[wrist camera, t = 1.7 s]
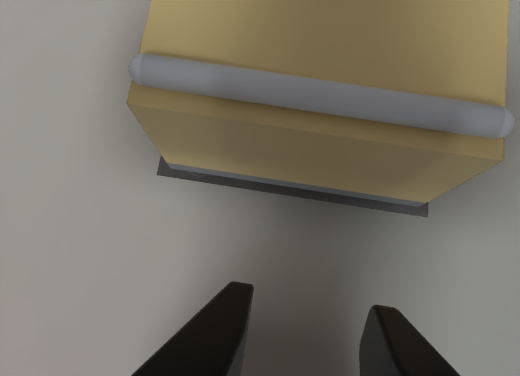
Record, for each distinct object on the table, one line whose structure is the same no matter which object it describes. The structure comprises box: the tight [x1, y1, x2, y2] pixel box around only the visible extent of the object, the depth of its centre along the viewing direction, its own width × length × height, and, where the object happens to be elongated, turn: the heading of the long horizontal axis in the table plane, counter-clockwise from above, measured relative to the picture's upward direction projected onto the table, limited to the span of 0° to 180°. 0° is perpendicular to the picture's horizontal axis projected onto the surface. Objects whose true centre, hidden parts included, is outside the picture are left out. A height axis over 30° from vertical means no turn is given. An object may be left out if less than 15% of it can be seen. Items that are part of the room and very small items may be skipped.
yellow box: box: [126, 0, 515, 207], centre depth 20 cm, size 10×12×10 cm
